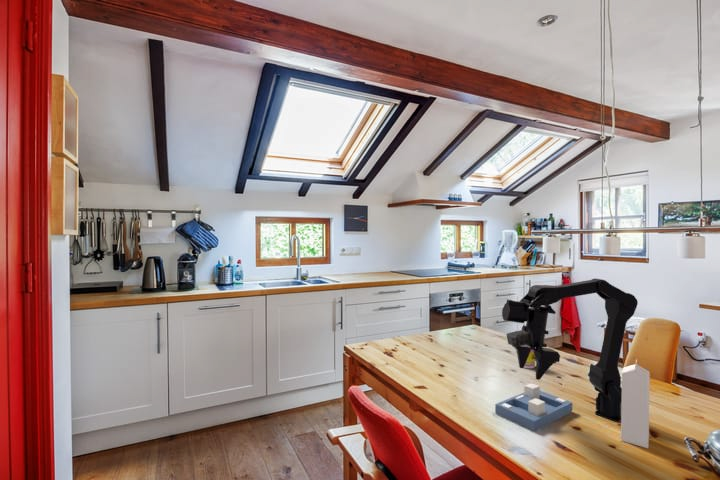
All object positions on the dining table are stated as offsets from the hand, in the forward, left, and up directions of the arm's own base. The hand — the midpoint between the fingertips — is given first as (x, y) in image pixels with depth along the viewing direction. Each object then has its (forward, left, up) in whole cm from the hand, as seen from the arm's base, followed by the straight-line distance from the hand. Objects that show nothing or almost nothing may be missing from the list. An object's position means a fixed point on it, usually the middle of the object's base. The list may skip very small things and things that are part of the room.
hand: (529, 373), depth 116 cm
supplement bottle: (+25, -40, -13) cm, 49 cm away
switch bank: (0, -2, -13) cm, 13 cm away
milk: (-25, -11, -13) cm, 30 cm away
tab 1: (+3, -7, -12) cm, 14 cm away
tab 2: (-4, +3, -12) cm, 13 cm away
